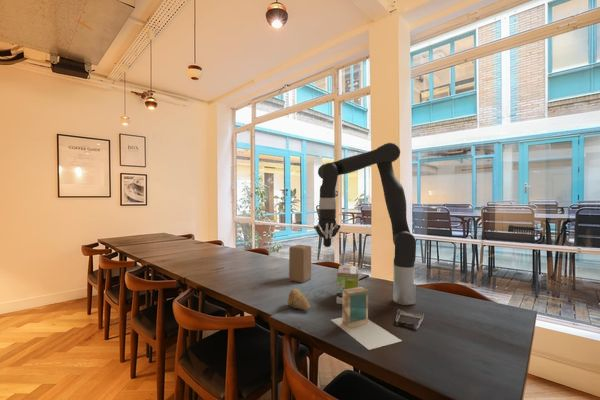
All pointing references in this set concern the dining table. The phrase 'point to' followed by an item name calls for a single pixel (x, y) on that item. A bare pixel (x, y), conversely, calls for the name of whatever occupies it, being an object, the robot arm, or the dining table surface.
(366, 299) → the maple slab
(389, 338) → the felt mat
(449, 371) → the dining table surface
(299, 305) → the seashell
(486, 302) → the dining table surface
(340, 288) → the tea box
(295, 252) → the wooden block
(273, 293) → the dining table surface
